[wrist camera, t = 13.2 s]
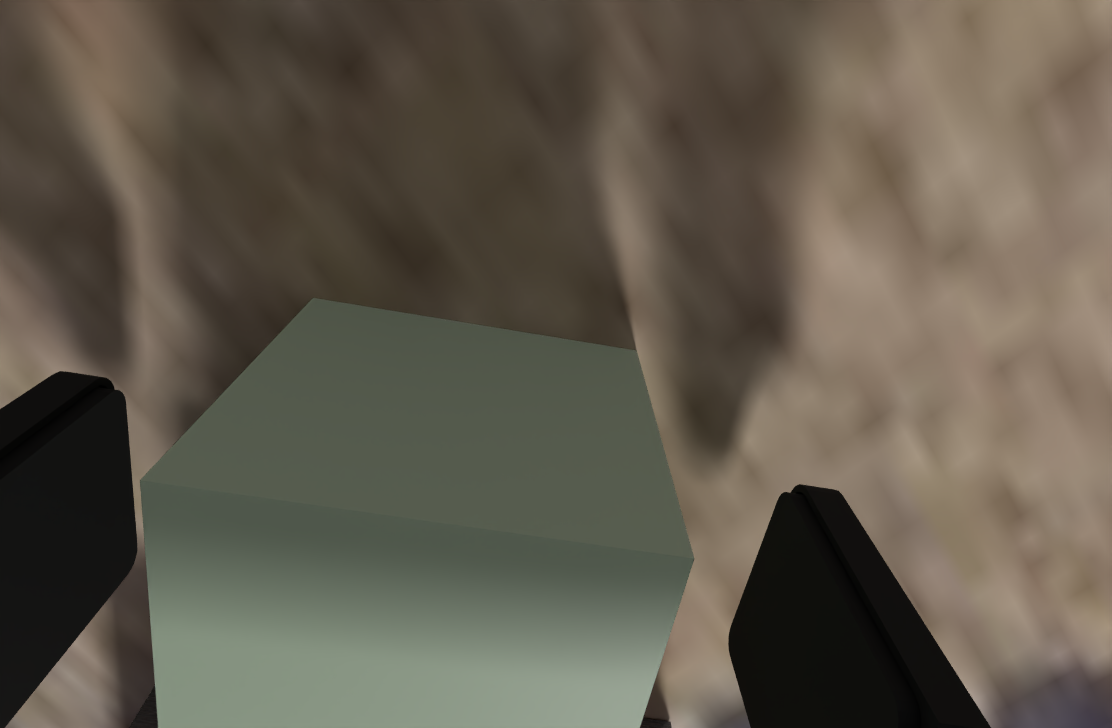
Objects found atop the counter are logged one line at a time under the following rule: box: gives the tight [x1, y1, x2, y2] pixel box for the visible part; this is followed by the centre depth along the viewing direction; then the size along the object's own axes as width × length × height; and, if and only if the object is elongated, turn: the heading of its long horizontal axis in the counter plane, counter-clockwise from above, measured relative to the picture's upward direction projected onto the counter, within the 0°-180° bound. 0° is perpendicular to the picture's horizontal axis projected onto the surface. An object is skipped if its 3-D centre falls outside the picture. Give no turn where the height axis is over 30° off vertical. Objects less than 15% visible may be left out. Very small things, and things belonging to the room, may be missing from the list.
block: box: [140, 298, 694, 728], centre depth 10 cm, size 5×5×5 cm
